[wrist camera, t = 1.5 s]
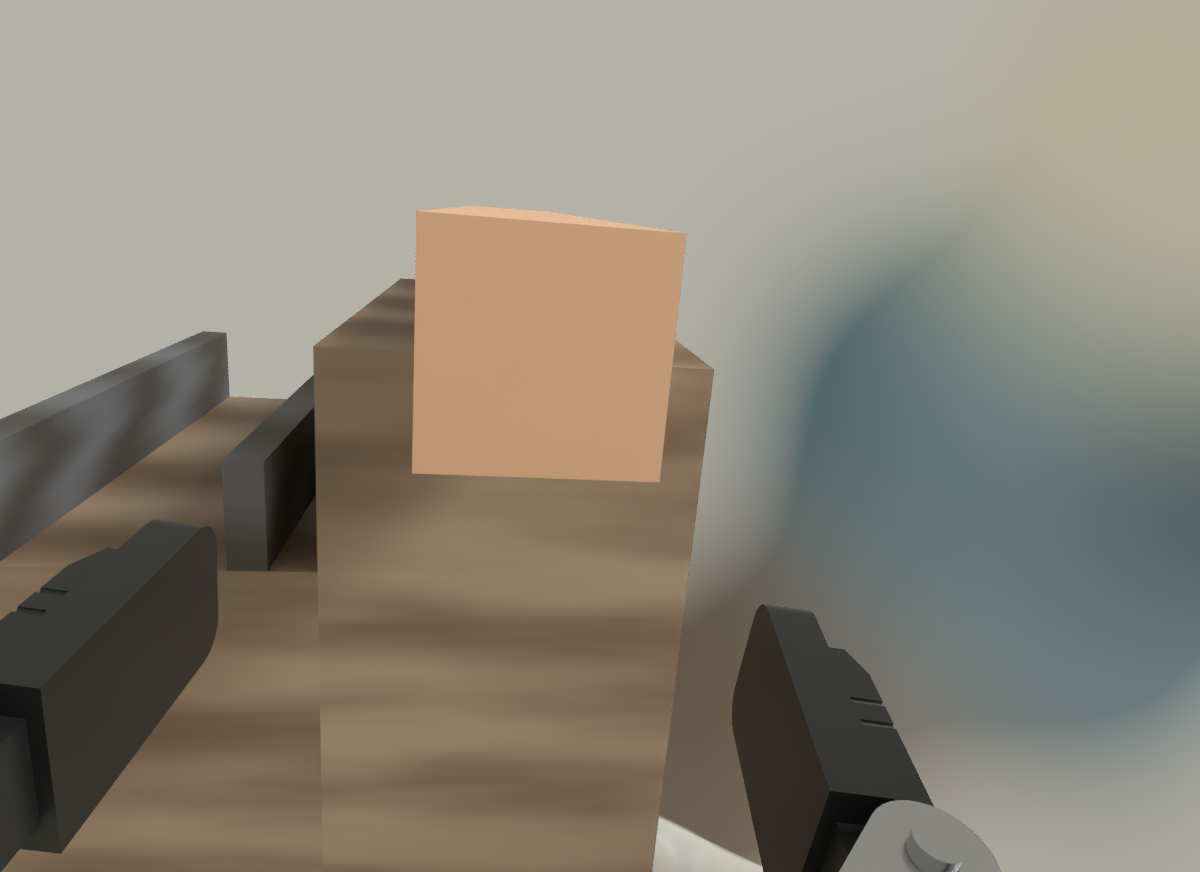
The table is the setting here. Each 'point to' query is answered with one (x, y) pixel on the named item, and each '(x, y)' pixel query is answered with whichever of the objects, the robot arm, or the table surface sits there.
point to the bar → (542, 344)
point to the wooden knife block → (369, 620)
